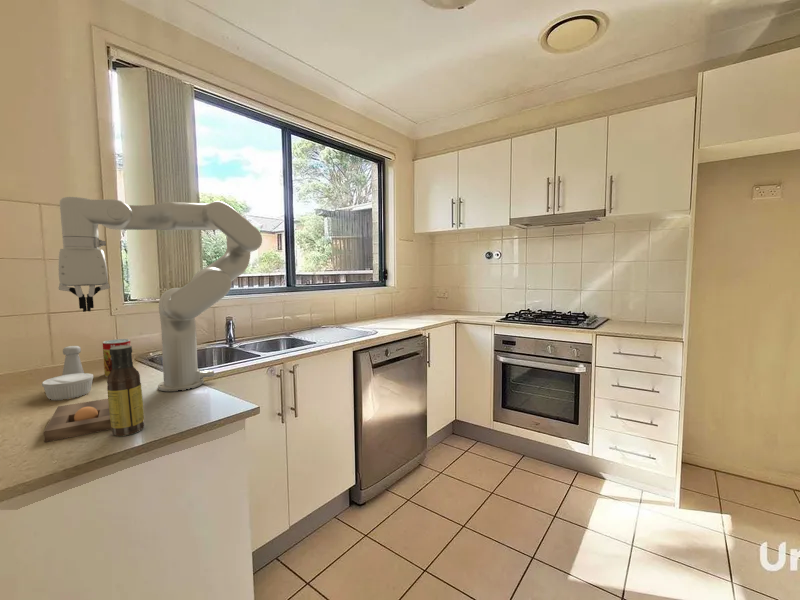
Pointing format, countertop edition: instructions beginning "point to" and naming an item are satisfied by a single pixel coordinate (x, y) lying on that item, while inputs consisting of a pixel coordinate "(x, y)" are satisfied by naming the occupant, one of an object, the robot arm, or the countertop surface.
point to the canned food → (106, 352)
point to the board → (68, 427)
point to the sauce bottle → (124, 393)
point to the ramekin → (68, 386)
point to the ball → (86, 413)
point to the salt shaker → (72, 360)
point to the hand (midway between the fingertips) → (86, 311)
